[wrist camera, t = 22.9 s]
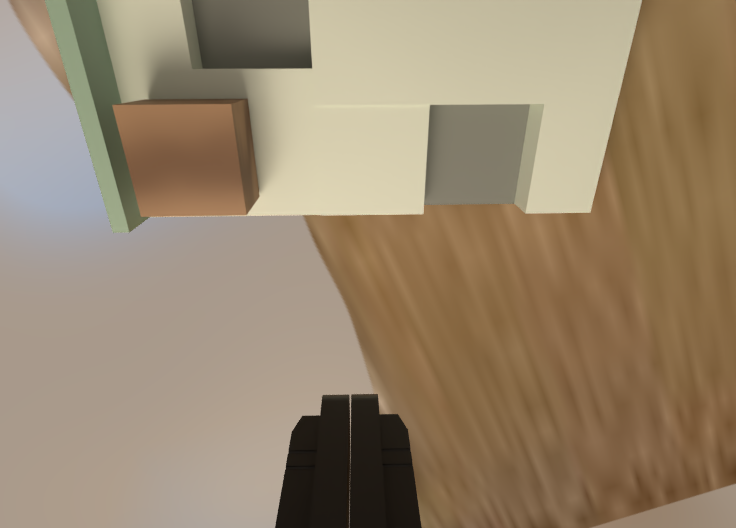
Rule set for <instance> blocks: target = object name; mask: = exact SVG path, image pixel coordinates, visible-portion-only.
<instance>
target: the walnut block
mask: <svg viewBox="0 0 736 528" xmlns="http://www.w3.org/2000/svg"><path fill="white" fill-rule="evenodd" d="M112 106H113V110H114V114H115V118H116V122H117V126H118V130H119V133H120V137H121V141H122V145H123V149H124V153H125V157H126V161H127V164H128V168H129V172H130V176H131V180H132V184H133V188H134V191H135V195H136V199H137V203H138V207H139V211H140V215H141V217H163V216H230V215H247V214H248V213H249V211H250V210H251V208H252V207H253V205H254V204H255V203H256V201H257V200H258V198H259V197H260V195H259V187H258V179H257V171H256V163H255V155H254V147H253V139H252V131H251V122H250V114H249V106H248V99H144V100H138V101H132V102H127V103H121V104H115V105H112Z"/></svg>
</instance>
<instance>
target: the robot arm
mask: <svg viewBox="0 0 736 528" xmlns="http://www.w3.org/2000/svg"><path fill="white" fill-rule="evenodd" d="M351 399H352V400H351V462H350V407H349V405H350V403H349V395H323V397H322V405H321V415H320V416H302V418H301V419H300V420H299V422H298V423H297V425H296V426H295V428H294V430H293V431H292V434H291V440H290V445H289V454H288V457H287V463H286V470H285V474H284V480H283V487H282V492H281V497H280V503H279V509H278V515H277V520H276V526H275V528H349V496H350V528H421V521H420V514H419V507H418V500H417V493H416V485H415V478H414V471H413V466H412V457H411V452H410V442H409V435H408V429H407V428H406V426H405V425H404V423H403V422H402V420H401V418H400V417H399V415H398V414H381V415H379V403H378V394H357V395H356V394H355V395H352V396H351Z"/></svg>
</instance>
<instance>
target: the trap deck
mask: <svg viewBox="0 0 736 528" xmlns="http://www.w3.org/2000/svg"><path fill="white" fill-rule="evenodd" d="M45 3H46V6H47V10H48V13H49V17H50V20H51V23H52V27H53V30H54V34H55V37H56V40H57V44H58V47H59V51H60V54H61V57H62V61H63V64H64V68H65V71H66V74H67V78H68V81H69V85H70V88H71V91H72V95H73V98H74V102H75V105H76V109H77V112H78V115H79V119H80V122H81V125H82V129H83V132H84V136H85V139H86V143H87V146H88V149H89V152H90V156H91V159H92V163H93V166H94V170H95V173H96V177H97V180H98V183H99V187H100V190H101V194H102V197H103V200H104V204H105V207H106V211H107V214H108V217H109V221H110V224H111V228H112V231H113V233H116V232H131V231H132V230H133V229H134V228H136V227H137V226H138V225H140V224H141V223H142V222H144V221H145V220H146V219H148V218H149V217H141V215H140V211H139V207H138V203H137V199H136V195H135V191H134V188H133V184H132V180H131V176H130V172H129V168H128V164H127V161H126V157H125V153H124V149H123V145H122V141H121V137H120V133H119V130H118V126H117V122H116V118H115V114H114V110H113V106H112V105H115V104H121V103H127V102H132V101H138V100H144V99H248V106H249V114H250V122H251V131H252V139H253V147H254V155H255V163H256V171H257V179H258V187H259V195H260V197H259V198H258V200H257V201H256V203H255V204H254V205H253V207H252V208H251V210H250V211H249V213H248V214H247V215H230V216H261V215H262V216H263V215H391V214H423V213H424V205H445V204H515V205H516V206H518V207H519V208H520V209H521V210H522V211H523V212H525V213H590V212H591V207H592V203H593V199H594V195H595V191H596V187H597V183H598V179H599V175H600V171H601V167H602V162H603V158H604V154H605V150H606V146H607V142H608V138H609V134H610V130H611V126H612V121H613V117H614V113H615V109H616V105H617V101H618V97H619V93H620V89H621V85H622V81H623V76H624V72H625V68H626V64H627V60H628V56H629V52H630V48H631V44H632V40H633V36H634V31H635V27H636V23H637V19H638V15H639V11H640V7H641V3H642V0H45ZM163 217H184V216H163ZM185 217H188V216H185Z"/></svg>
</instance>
